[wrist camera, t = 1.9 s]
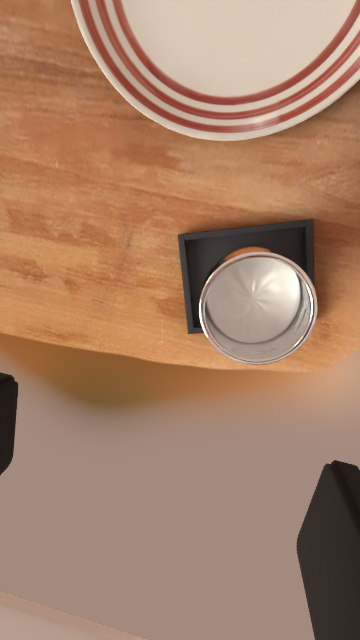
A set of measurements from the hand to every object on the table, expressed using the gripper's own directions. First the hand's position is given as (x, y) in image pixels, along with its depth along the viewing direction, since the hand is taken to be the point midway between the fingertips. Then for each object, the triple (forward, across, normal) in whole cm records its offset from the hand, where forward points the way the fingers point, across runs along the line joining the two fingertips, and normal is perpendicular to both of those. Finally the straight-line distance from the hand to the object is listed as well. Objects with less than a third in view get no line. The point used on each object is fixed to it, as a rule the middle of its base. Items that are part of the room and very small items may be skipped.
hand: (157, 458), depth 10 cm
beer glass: (+26, -3, -3) cm, 26 cm away
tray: (+26, -3, -3) cm, 26 cm away
